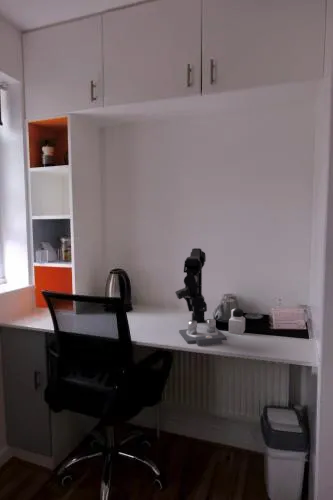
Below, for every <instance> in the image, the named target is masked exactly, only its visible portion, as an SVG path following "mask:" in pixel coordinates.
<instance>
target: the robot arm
mask: <svg viewBox="0 0 333 500" xmlns="http://www.w3.org/2000/svg"><path fill="white" fill-rule="evenodd" d="M206 261H207V256H206V252H205V251H203V249H202V248H199V247H198V248H196V247H195V248H192V249H191V252H190V255H189V256H188V257H186V258H185V259H184V264H183V273H186V275H185V277H184V279H183V283H184V285H185V286H184V287H183V288H180V289H178V290H176V291H175V295H176V297H177V298H176V299H178V300H182V299H184V300H185V301H186V306H187V309H188V312H192V313H191V320H195V321H197V324H198V323H199V324H200V323H206V320H205V312H207V311H208V306H207V305H208V304H207V302H206V300H205V296H204V295H203V289H202V288H203V268H204V266H205V264H206V263H205V262H206Z"/></svg>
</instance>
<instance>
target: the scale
mask: <svg viewBox="0 0 333 500" xmlns="http://www.w3.org/2000/svg"><path fill="white" fill-rule="evenodd" d="M178 333H179V334H180V336H181V337H182V339H183V340H184V341H185V342H186V343H187V344H196V345H197V346H198V347H203V345H204V346H210V345H211V346H213V345H212V344H214V345H221V344H222V345H223V341H227V340H228V338H227V336H226V335H225V334H224V333H223V332H221V331H220V329H218V328H217V327H216V332H215V333H208V332H207V326H206V327H203V326H199V327H198V326H197V334H195V335H191V334H188V328H187V329H179V330H178Z"/></svg>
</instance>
